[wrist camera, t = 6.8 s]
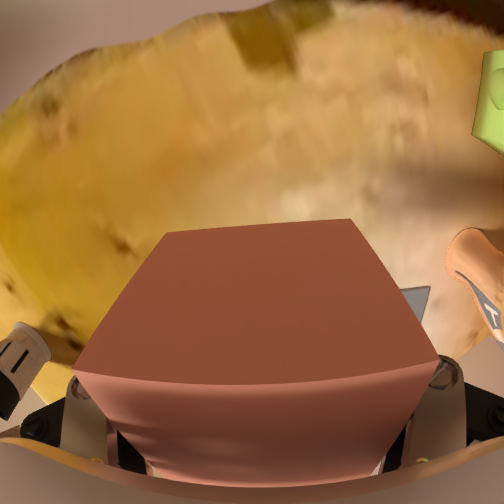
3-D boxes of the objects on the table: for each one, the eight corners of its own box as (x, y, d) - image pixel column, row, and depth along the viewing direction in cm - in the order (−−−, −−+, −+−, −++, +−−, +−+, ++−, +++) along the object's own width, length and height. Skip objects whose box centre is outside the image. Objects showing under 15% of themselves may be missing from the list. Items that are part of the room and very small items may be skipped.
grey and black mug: (16, 341, 37) (-25, 396, 23) (12, 290, 31) (-47, 353, 17) (51, 368, 38) (14, 429, 25) (53, 322, 32) (-1, 397, 19)
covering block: (350, 218, 9) (440, 359, 3) (339, 352, 11) (365, 480, 6) (166, 232, 9) (71, 369, 4) (201, 359, 12) (172, 484, 7)
